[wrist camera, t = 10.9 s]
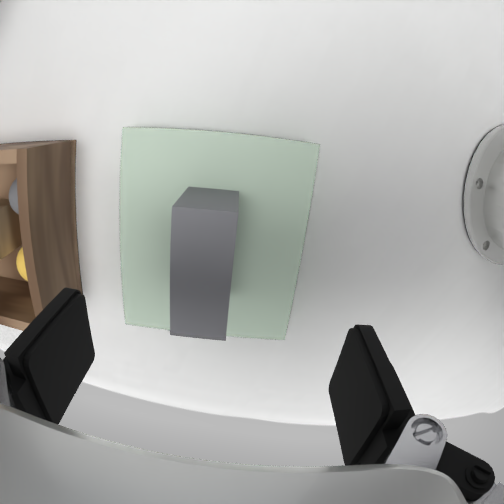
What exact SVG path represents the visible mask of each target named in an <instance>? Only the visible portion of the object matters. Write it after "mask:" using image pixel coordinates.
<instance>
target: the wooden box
mask: <svg viewBox="0 0 504 504" xmlns="http://www.w3.org/2000/svg"><path fill="white" fill-rule="evenodd" d="M75 155H76V140H57V141H35V142H19V143H6V144H0V198H2V199H9V190H10V187H11V185H12V183H13V182H14V180H15V179H16V178H17V194H18V210H19V221H20V231H21V240H22V245H21V246H20V247H18V248H17V249H15V250H14V251H12V252H11V253H10V254H8V255H7V256H5V257H4V258H3V259H1V260H0V324H2V325H5V326H8V327H12V328H15V329H19V330H22V331H24V330H25V329H26V328H27V326H28V325H29V324H30V323H31V322H32V321H33V320H34V319H35V318H36V317H37V316H38V314H39V313H40V312H41V311H42V310H43V309H44V308H45V307H46V306H47V305H48V304H49V303H50V302H51V301H52V300H53V299H54V298H55V297H56V296H57V295H58V294H59V293H60V292H61V290H62V289H64V288H65V287H67V288H72V289H77V290H80V292H81V294H82V295H83V293H82V285H81V277H80V267H79V257H78V245H77V230H76V208H75ZM21 248H23V255H24V261H25V268H26V274H27V279H28V281H27V280H25V279H24V278H23V277H22V276H21V275H20V273H19V272H18V269H17V264H16V260H17V255H18V252H19V250H20V249H21Z"/></svg>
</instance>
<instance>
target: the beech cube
mask: <svg viewBox="0 0 504 504" xmlns="http://www.w3.org/2000/svg"><path fill="white" fill-rule="evenodd" d="M21 245H22V240H21V231H20V221H19V215H18V214H17V213H16V212H15V211H14V210H13V209H12V207H11V205H10V202H9V199H2V198H0V260H1V259H3V258H4V257H5V256H7V255H8V254H10V253H11V252H12V251H14V250H15V249H17V248H18V247H20V246H21Z"/></svg>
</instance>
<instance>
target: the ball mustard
mask: <svg viewBox="0 0 504 504" xmlns="http://www.w3.org/2000/svg"><path fill="white" fill-rule="evenodd" d="M16 264H17V269H18V272H19V273H20V275H21V276H22V277H23V278H24V279H25V280H27V281H28V279H27V274H26V268H25V261H24V255H23V248H21V249H20V250H19V252H18V255H17V260H16Z"/></svg>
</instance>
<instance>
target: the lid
mask: <svg viewBox="0 0 504 504" xmlns="http://www.w3.org/2000/svg"><path fill="white" fill-rule="evenodd" d="M319 148H320V145H319V144H315V143H309V142H302V141H295V140H288V139H281V138H274V137H266V136H258V135H249V134H239V133H229V132H218V131H206V130H191V129H174V128H147V127H123V129H122V144H121V163H120V203H119V217H120V257H121V276H122V291H123V304H124V315H125V324H128V325H135V326H142V327H149V328H157V329H165V330H170V335H175V336H184V337H193V338H203V339H213V340H224V341H226V336H232V337H244V338H258V339H274V340H285V336H286V331H287V327H288V322H289V317H290V312H291V307H292V302H293V298H294V293H295V288H296V282H297V277H298V272H299V267H300V262H301V256H302V251H303V245H304V240H305V234H306V229H307V223H308V217H309V211H310V205H311V199H312V193H313V187H314V181H315V174H316V168H317V161H318V155H319Z"/></svg>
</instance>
